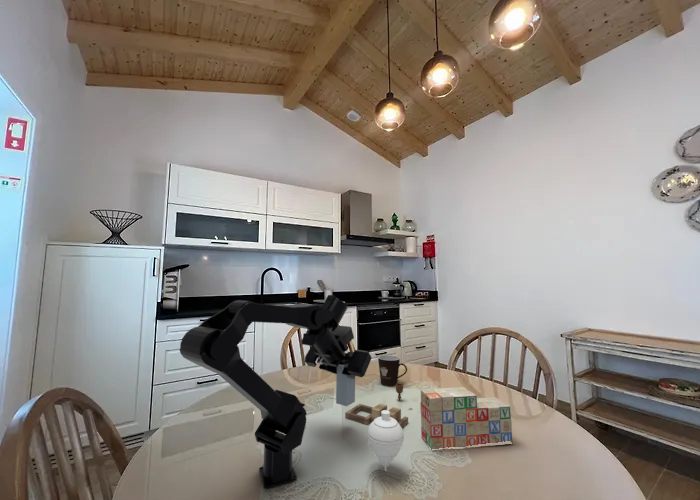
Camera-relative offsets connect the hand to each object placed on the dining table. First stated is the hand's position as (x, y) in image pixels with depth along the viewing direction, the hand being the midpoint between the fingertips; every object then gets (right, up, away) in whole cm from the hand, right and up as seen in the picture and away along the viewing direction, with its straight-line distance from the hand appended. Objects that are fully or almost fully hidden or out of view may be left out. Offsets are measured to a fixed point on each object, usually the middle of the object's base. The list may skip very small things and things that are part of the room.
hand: (348, 376), depth 84 cm
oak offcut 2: (+12, -14, 0) cm, 18 cm away
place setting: (+27, -16, +13) cm, 34 cm away
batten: (-1, -6, -2) cm, 7 cm away
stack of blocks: (+30, -13, -8) cm, 34 cm away
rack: (+8, -14, +3) cm, 16 cm away
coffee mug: (+16, -18, +33) cm, 41 cm away
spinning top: (+8, -11, -21) cm, 25 cm away
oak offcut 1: (+9, -14, +2) cm, 17 cm away
